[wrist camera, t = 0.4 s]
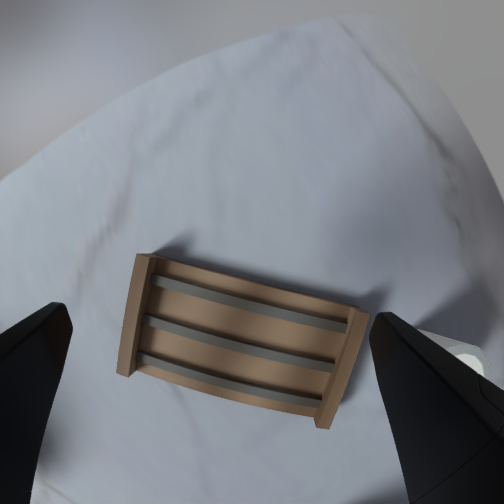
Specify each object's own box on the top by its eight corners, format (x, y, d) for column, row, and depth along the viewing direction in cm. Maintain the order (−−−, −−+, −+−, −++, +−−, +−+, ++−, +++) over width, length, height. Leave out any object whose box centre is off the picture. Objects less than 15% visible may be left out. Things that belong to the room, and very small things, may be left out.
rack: (358, 306, 22) (370, 314, 19) (323, 412, 22) (329, 429, 20) (150, 253, 23) (136, 253, 20) (130, 361, 23) (116, 372, 20)
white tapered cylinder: (382, 318, 22) (423, 342, 15) (451, 323, 22) (501, 343, 15) (363, 398, 22) (392, 443, 15) (432, 397, 22) (471, 433, 15)
